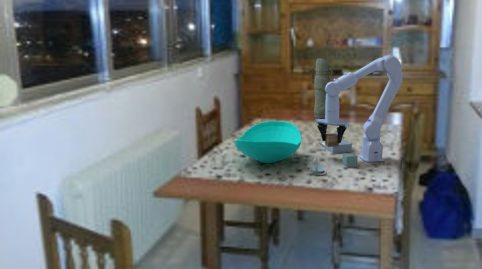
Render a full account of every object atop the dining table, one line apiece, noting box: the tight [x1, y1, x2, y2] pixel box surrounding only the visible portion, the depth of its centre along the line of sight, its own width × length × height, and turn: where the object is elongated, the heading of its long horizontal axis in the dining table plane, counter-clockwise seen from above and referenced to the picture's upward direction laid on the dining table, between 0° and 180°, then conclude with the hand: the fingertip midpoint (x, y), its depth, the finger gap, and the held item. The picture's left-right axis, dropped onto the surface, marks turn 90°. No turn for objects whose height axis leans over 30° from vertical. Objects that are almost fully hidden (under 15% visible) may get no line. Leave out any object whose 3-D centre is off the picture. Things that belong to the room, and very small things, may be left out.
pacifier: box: [310, 157, 328, 176], centre depth 204 cm, size 7×6×6 cm
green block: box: [342, 152, 359, 168], centre depth 213 cm, size 5×5×5 cm
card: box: [318, 141, 325, 148], centre depth 247 cm, size 8×8×1 cm
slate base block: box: [324, 138, 353, 154], centre depth 237 cm, size 9×9×4 cm
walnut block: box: [324, 132, 339, 147], centre depth 223 cm, size 5×5×5 cm
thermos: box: [311, 56, 333, 119], centre depth 306 cm, size 9×12×35 cm
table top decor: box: [233, 120, 303, 164], centre depth 222 cm, size 40×28×13 cm
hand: (331, 141), depth 223 cm, fingers closed on walnut block, 6 cm apart
